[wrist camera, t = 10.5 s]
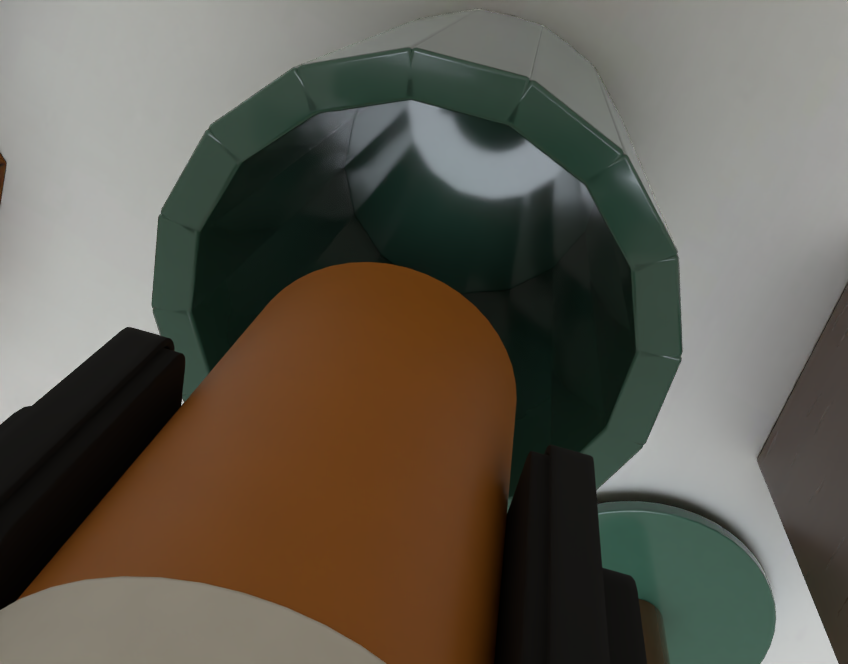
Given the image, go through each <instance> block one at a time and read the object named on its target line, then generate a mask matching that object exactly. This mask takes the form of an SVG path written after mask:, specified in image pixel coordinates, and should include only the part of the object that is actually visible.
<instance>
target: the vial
mask: <svg viewBox="0 0 848 664" xmlns="http://www.w3.org/2000/svg"><path fill="white" fill-rule="evenodd" d="M516 402H517V396H516V382H515V377H514V372H513V367H512V364H511V361H510V359H509V356H508V353H507V351H506V348H505V347H504V345H503V343H502V341H501V339H500V337H499V335H498V334H497V332H496V331H495V329H494V328H493V327H492V325H491V324H490V322H489V321H488V320H487V318H486V317H485V316H484V315H483V314H482V313H481V312H480V311H479V310H478V309H477V308H476V307H475V306H474V305H473V304H472V303H471V302H470V301H469V300H467V299H466V298H465V297H464V296H463V295H461V294H460V293H459V292H457V291H456V290H454V289H453V288H451V287H449V286H448V285H446V284H445V283H443V282H441V281H439V280H437V279H435V278H433V277H431V276H429V275H427V274H424V273H421V272H418V271H415V270H413V269H410V268H407V267H402V266H397V265H392V264H387V263H375V262H355V263H345V264H339V265H334V266H329V267H326V268H323V269H320V270H317V271H314V272H312V273H309V274H307V275H305V276H303V277H301V278H299V279H297V280H296V281H294V282H293V283H291V284H290V285H288V286H287V287H285V288H284V289H283V290H282V291H281V292H279V293H278V294H277V295H276V296H275V297H274V298H273V299H272V300H271V301H270V302H269V303H268V304H267V306H266V307H265V308H264V309H263V310H262V312H261V313H260V314H259V315H258V316H257V317H256V319H255V320H254V321H253V322H252V323H251V324H250V326H249V327H248V328H247V329H246V330H245V332H244V333H243V334H242V335H241V336H240V337H239V339H238V340H237V341H236V342H235V343H234V345H233V346H232V347H231V348H230V349H229V350H228V352H227V353H226V354H225V355H224V356H223V357H222V359H221V360H220V361H219V362H218V363H217V365H216V366H215V367H214V368H213V369H212V370H211V372H210V373H209V374H208V375H207V376H206V378H205V379H204V380H203V381H202V382H201V383H200V385H199V386H198V387H197V388H196V389H195V390H194V392H193V393H192V394H191V395H190V396H189V398H188V399H187V400H186V401H185V402H184V403H183V405H182V406H181V407H180V408H179V409H178V411H177V412H176V413H175V414H174V415H173V416H172V418H171V419H170V420H169V421H168V422H167V423H166V425H165V426H164V427H163V428H162V429H161V431H160V432H159V433H158V434H157V435H156V436H155V438H154V439H153V440H152V441H151V442H150V444H149V445H148V446H147V447H146V448H145V449H144V451H143V452H142V453H141V454H140V455H139V456H138V458H137V459H136V460H135V461H134V462H133V464H132V465H131V466H130V467H129V468H128V469H127V471H126V472H125V473H124V474H123V475H122V477H121V478H120V479H119V480H118V481H117V482H116V484H115V485H114V486H113V487H112V488H111V489H110V491H109V492H108V493H107V494H106V495H105V497H104V498H103V499H102V500H101V501H100V502H99V504H98V505H97V506H96V507H95V508H94V510H93V511H92V512H91V513H90V514H89V515H88V517H87V518H86V519H85V520H84V521H83V522H82V524H81V525H80V526H79V527H78V528H77V530H76V531H75V532H74V533H73V534H72V535H71V537H70V538H69V539H68V540H67V541H66V543H65V544H64V545H63V546H62V547H61V548H60V550H59V551H58V552H57V553H56V554H55V555H54V557H53V558H52V559H51V560H50V561H49V563H48V564H47V565H46V566H45V567H44V568H43V570H42V571H41V572H40V573H39V574H38V576H37V577H36V578H35V579H34V580H33V581H32V583H31V584H30V585H29V586H28V587H27V588H26V590H25V591H24V592H23V593H22V594H21V596H20V597H19V598H18V599H17V600H16V601H15V602H14V603H12V604H10V605H8V606H7V607H5V608H3V609H1V610H0V664H494V660H495V648H496V636H497V624H498V613H499V601H500V589H501V578H502V566H503V554H504V542H505V531H506V519H507V507H508V495H509V484H510V472H511V460H512V448H513V437H514V425H515V413H516Z"/></svg>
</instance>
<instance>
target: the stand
mask: <svg viewBox="0 0 848 664" xmlns="http://www.w3.org/2000/svg"><path fill="white" fill-rule="evenodd" d="M757 462H758V465H759V467H760V469H761V472H762V474H763V477H764V479H765V482H766V484H767V487H768V489H769V492H770V494H771V497H772V499H773V502H774V504H775V507H776V509H777V512H778V514H779V517H780V519H781V522H782V524H783V527H784V529H785V532H786V534H787V536H788V539H789V541H790V544H791V546H792V549H793V551H794V554H795V556H796V559H797V561H798V564H799V566H800V569H801V571H802V574H803V576H804V579H805V581H806V584H807V586H808V589H809V591H810V594H811V596H812V598H813V601H814V603H815V606H816V608H817V611H818V613H819V616H820V618H821V621H822V623H823V626H824V628H825V631H826V633H827V636H828V638H829V641H830V643H831V646H832V648H833V651H834V653H835V656H836V658H837V660H838V663H839V664H848V285H847V287H846V289H845V291H844V292H843V294H842V296H841V298H840V300H839V302H838V304H837V306H836V308H835V310H834V312H833V314H832V316H831V318H830V320H829V322H828V324H827V325H826V327H825V329H824V331H823V333H822V335H821V337H820V339H819V341H818V343H817V345H816V347H815V349H814V351H813V353H812V355H811V357H810V358H809V360H808V362H807V364H806V366H805V368H804V370H803V372H802V374H801V376H800V378H799V380H798V382H797V384H796V386H795V388H794V389H793V391H792V393H791V395H790V397H789V399H788V401H787V403H786V405H785V407H784V409H783V411H782V413H781V415H780V417H779V419H778V421H777V422H776V424H775V426H774V428H773V430H772V432H771V434H770V436H769V438H768V440H767V442H766V444H765V446H764V448H763V450H762V452H761V454H760V455H759V457H758V459H757Z"/></svg>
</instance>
